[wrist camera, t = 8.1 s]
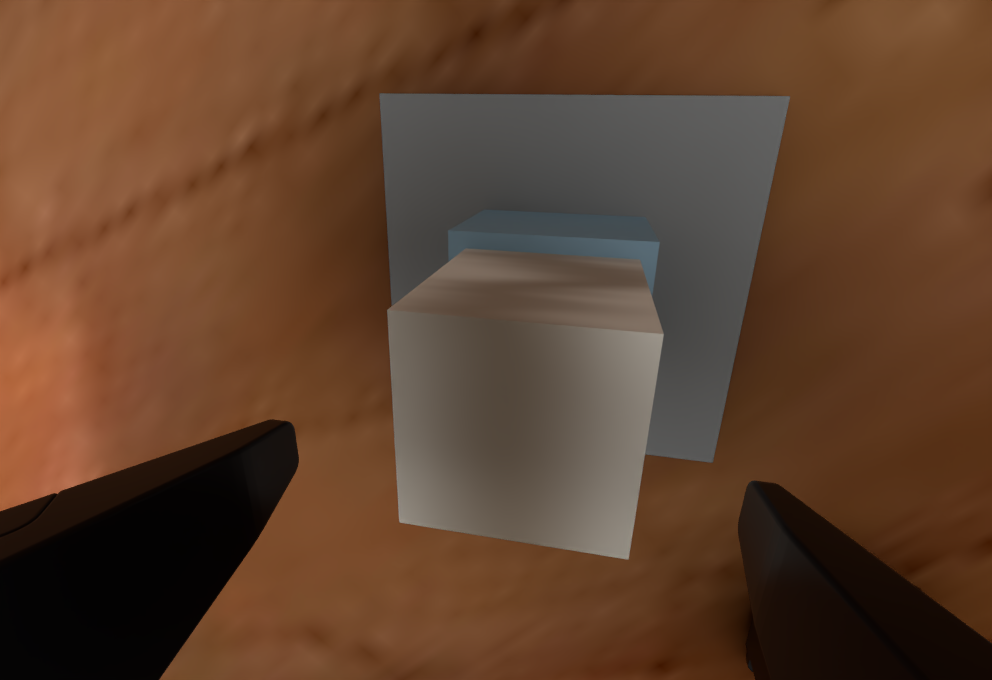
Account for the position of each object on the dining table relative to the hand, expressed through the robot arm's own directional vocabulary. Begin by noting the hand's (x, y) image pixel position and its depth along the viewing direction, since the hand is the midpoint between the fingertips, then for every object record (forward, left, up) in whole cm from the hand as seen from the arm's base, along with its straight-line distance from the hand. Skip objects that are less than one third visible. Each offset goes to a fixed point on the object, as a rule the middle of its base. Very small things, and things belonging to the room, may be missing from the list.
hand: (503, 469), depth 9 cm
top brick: (0, 0, -7) cm, 7 cm away
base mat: (0, 0, -13) cm, 13 cm away
